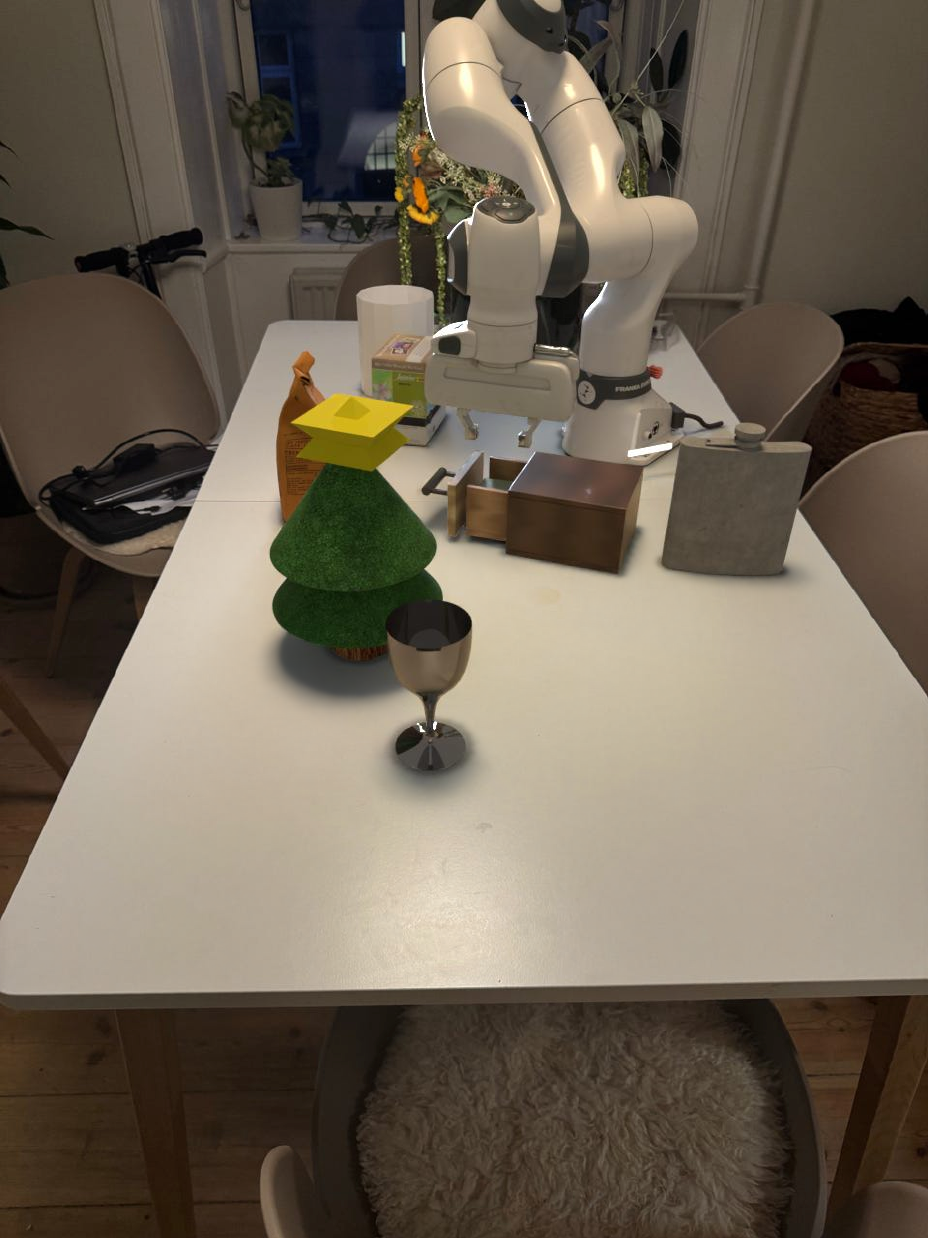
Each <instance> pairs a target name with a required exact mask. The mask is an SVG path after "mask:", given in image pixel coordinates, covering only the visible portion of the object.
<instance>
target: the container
mask: <svg viewBox="0 0 928 1238" xmlns="http://www.w3.org/2000/svg"><path fill="white" fill-rule="evenodd" d="M355 297H356V315H357V330H358V332H357V333H358V347H359V348H358V350H359V351H358V352H359V369H360V382H361V383H360V385H361V386H360V387H361V388H360V389H361V391H362V392H363V393H364V395H366V396H368V397H369V398H372V359H371V358H372V357H373V356H374V355H375V354H376V353H377V352H378V351H379V350H380V349H381V348H382V347H383V345H384V344H385V343H386V342H387V341H388V340H389V339H390V338H391V337H392V336H393V335H394V334H406V335H418V336H430V337H433V336H434V335H435V296H434V293H433V291H432V290H430V289H427V288H425V287H421V286H414V285H407V284H387V285H377V286H371V287H368V288H364V289H361V290H360V291H359V292H358V293H357V294H356V296H355Z"/></svg>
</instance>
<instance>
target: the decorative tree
mask: <svg viewBox="0 0 928 1238" xmlns="http://www.w3.org/2000/svg"><path fill="white" fill-rule="evenodd" d="M325 399H326V400H325V401H323V402H322V403H320V404H319V405H317V406H316V407H314V408H312V409H311V410H309V411H308V412H306V413H305V414H303V415H302V416H300V417H299V418H297V419H295V420H294V421H292V422H291V423H292V424H293V425H295V426H296V427H298V428H299V429H301V430H302V431H304V432H305V433H307V434H308V435H310V436H312V437H313V439H312V440H311V441H310V442H309V443H308V444H307V445H306V446H305V447H304V448H303V450H302V451H301V452H300V453H299V454H298V455H297V456H296V457H300V458H305V459H310V460H315V461H320V462H326V464H325V465H324V467H323V468H322V470H321V471H320V473H319V474H318V476H317V477H316V479H315V480H314V482H313V483H312V484H311V486H310V487H309V489H308V490H307V492H306V493H305V495H304V496H303V498H302V499H301V501H300V502H299V504H298V505H297V507H296V508H295V510H294V511H293V513H292V514H291V516H290V517H289V518H288V520H287V521H285V523H284V524H283V526H282V527H281V529H280V530H279V532H278V533H277V535H276V536H275V538H274V539H273V541H272V542H271V545H270V547H269V551H268V552H269V559H270V562H271V564H272V566H273V567H274V569H275V570H276V571H277V572H278V573H280V575H282V576H283V577H285V580H284V581H283V582H282V583H281V585H280V586H279V587H278V588H277V590H276V591H275V593H274V595H273V597H272V601H271V604H272V605H271V611H272V614H273V616H274V619H275V621H276V622H277V623H278V625H279V626H280V627H281V628H282V629H283V630H285V631H286V632H287V633H288V634H290V635H292V636H293V637H295V638H296V639H299V640H302V641H304V642H306V643H309V644H313V645H316V646H321V647H326V648H331V650H332V652H334V653H335V654H336V655H337V656H338V657H340V658H343V659H345V660H350V661H358V662H360V661H361V662H362V661H368V660H369V661H370V660H374V659H377V658H379V657H381V656H384V655H385V654H387V653H388V652H387V646H386V636H385V623H386V619H387V617H388V615H389V614H390V613H391V612H392V611H393V610H394V609H396V608H397V607H399V606H401V605H403V604H405V603H409V602H412V601H417V600H426V599H433V600H442V601H444V594H443V590H442V588H441V585H440V584H439V582H438V581H437V580H436V578H434V576H432V575H431V574H430V572H428V571H427V570H426V568H427V567H429V565H430V564H431V562H433V560H434V558H435V556H436V555H437V550H438V544H437V539H436V537H435V534H434V533H433V532H432V531H431V530H430V528H428V526H427V525H426V524H425V523H424V522H423V521H422V519H421V518H420V517H419V516H418V515H417V514H416V512H415V511H414V509H412V508H411V506H410V505H409V504H408V503H407V502H406V500H405V499H404V498H403V497H402V496H401V495H400V493H398V491H397V490H396V489H395V488H394V487H393V486H392V484H391V483H390V482H389V481H388V480H387V479H386V477H385V476H384V474H382V473H381V472H380V470H379V469H378V467H380V466H381V465H382V464H383V463H384V462H386V461H387V460H388V459H389V458H391V457H392V456H393V455H394V454H395V453H396V452H397V451H399V450H400V449H401V448H402V447H403V446H405V445H407V444H406V443H407V442H408V441H409V440H410V439H409V438H407V437H406V436H405V435H403V434H402V433H400V432H399V431H398V430H396V429H395V428H394V426H395V425H396V424H397V423H398V422H399V421H400V420H401V419H402V418H403V417H404V416H405V415H406V414H407V413H408V412H409V411H410V410H411V409H412V407H413V406H412V405H406V404H400V403H394V402H388V401H382V400H375V399H372V398H370V397H369V398H368V397H363V396H358V395H357V396H356V395H350V394H344V393H338V392H336V393H335V394H332V395H331V396H329V397H328V398H325Z"/></svg>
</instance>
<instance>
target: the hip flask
mask: <svg viewBox="0 0 928 1238" xmlns="http://www.w3.org/2000/svg"><path fill="white" fill-rule="evenodd" d="M733 431H734V432H733V434H734V436H733V437H697V436H684V438H682V439H681V440H680V443H679V446H678V454H677V459H676V467H675V471H674V472H675V473H674V480H673V485H672V490H671V497H670V504H669V505H670V506H669V510H668V516H667V524H666V530H665V535H664V543H663V547H662V554H661V555H662V556H661V559H660V561H661V562H660V563H661V564H662V566H664V567H665V568H667V569H669V570H670V569H671V570H677V571H683V572H690V573H691V572H692V573H700V574H711V575H726V576H727V575H728V576H774V575H779V574H781V573H782V570H783V566H784V562H785V558H786V555H787V551H788V546H789V543H790V539H791V535H792V531H793V527H794V524H795V523H794V522H795V518H796V515H797V511H798V507H799V503H800V499H801V494H802V490H803V487H804V484H805V483H804V482H805V479H806V475H807V471H808V467H809V463H810V459H811V454H812V451H813V447H812V446H811V445H810V444H808V443H805V442H801V441H762V439H764V438H765V435H766V431H767V430H766V428H765V427H764V426H763V425H761V424H758V423H754V422H740V423H737V424H736V425H735V426H734V430H733Z"/></svg>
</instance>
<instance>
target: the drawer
mask: <svg viewBox="0 0 928 1238" xmlns="http://www.w3.org/2000/svg"><path fill="white" fill-rule="evenodd" d="M528 461H529V460H522V459H517V458H510V457H509V458H508V457H503V456H496V455H490V457H489V461H488V463H489V465H488V478H489V479H497V480H504V481H511V482H515V480H516V479H517V477H518V476H519V474H520V473H521V471H522V470H523V469H524V467H525V466H526V464H527V463H528ZM484 467H485V451H483V450H475V451H474V453H472V455H471V456H470V457H469V458H468V460H467V461H465V463H464V464H463V465H462V467H461V468H460V469H459V470H458V472H454V471H448V470H447V468H445V467H439V468H438V469H437V470H436V471H435V472H434V474H433V475H432V476H431V477H430V478H429V480H428V481H427V482H426V483H425V484H424V485H423V486H422V488H421V490H420V492H421V495H423V496H425V497H428V496H430V495H431V494H433V495H439V496H444V497H447V498H446V501H447V503H446V504H447V508H446V509H447V512H446V513H447V518H446V519H447V521H446V523H447V528H446V529H447V536H449V537H452V538H453V537H457V535H458V534H459V533H460V531H461V530H462V529H463V527H464V526H465V535H467V536H474V537H480V538H485V539H491V540H497V541H503V542H506V531H507V507H508V491H506V490H499V489H493V488H487V487H481V486H479V485H480V483H481V482H482V481H483V480H484ZM445 477H448V478H452V479H451V480H450V481H449V482H448V483H447V486H446V487H447V488H446V489H441V488H437V487H438V486H439V484H440V483H441V482H442V481H443V480H444V478H445Z"/></svg>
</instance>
